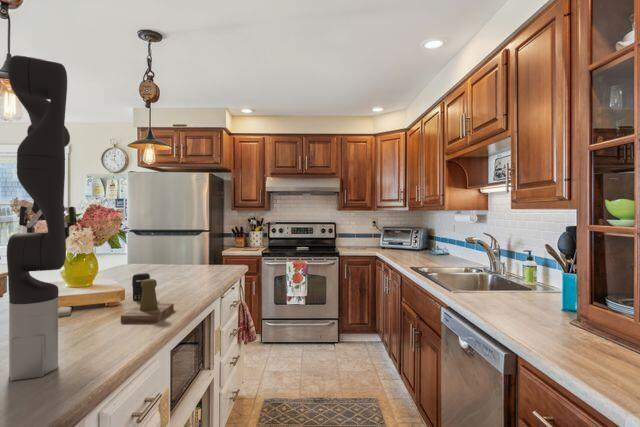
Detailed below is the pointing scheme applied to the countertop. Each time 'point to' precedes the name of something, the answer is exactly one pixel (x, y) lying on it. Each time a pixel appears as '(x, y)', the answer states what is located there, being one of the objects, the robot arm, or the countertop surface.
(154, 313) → the walnut board
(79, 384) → the countertop surface
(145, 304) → the cork
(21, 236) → the robot arm
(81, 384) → the countertop surface
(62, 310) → the washcloth
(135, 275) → the battery charger
